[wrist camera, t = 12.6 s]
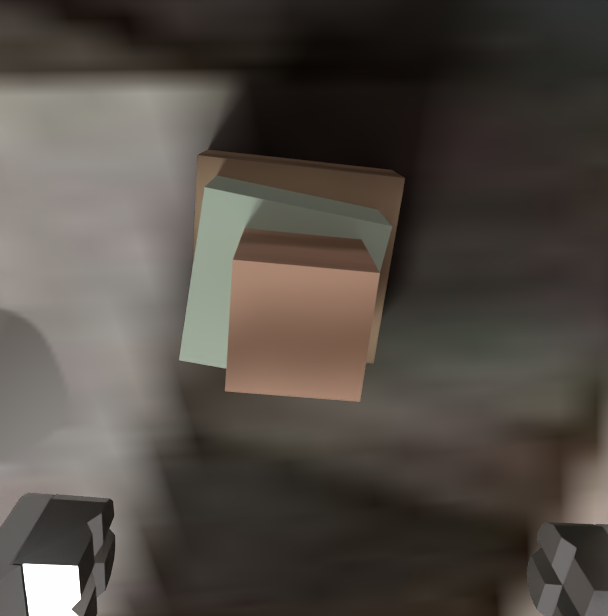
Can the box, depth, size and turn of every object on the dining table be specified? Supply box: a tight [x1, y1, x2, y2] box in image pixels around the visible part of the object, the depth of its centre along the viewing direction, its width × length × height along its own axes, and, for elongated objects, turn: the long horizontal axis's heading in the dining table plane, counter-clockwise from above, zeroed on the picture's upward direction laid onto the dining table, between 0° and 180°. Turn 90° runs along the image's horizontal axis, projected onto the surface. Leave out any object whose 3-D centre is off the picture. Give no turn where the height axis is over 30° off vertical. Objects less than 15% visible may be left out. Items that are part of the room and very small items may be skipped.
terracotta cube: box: [225, 228, 380, 402], centre depth 21 cm, size 5×5×5 cm
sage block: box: [179, 176, 392, 368], centre depth 26 cm, size 8×8×4 cm
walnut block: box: [193, 150, 405, 363], centre depth 29 cm, size 10×10×4 cm
